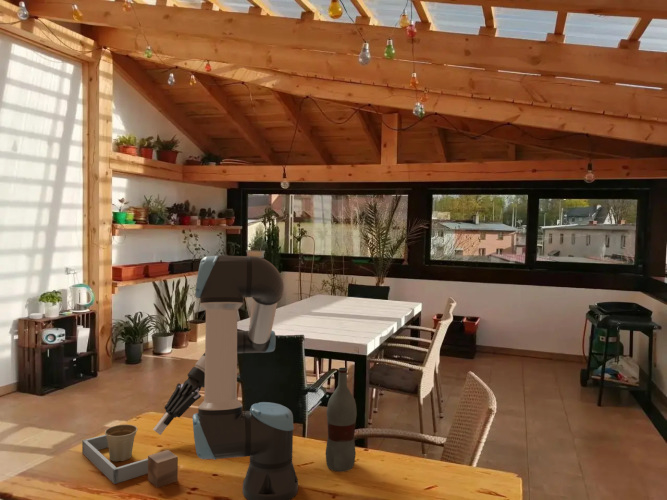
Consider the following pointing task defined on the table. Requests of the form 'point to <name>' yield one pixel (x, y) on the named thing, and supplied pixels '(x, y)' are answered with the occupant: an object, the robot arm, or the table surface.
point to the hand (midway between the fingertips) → (156, 432)
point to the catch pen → (105, 466)
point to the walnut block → (162, 468)
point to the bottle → (341, 427)
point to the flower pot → (120, 441)
